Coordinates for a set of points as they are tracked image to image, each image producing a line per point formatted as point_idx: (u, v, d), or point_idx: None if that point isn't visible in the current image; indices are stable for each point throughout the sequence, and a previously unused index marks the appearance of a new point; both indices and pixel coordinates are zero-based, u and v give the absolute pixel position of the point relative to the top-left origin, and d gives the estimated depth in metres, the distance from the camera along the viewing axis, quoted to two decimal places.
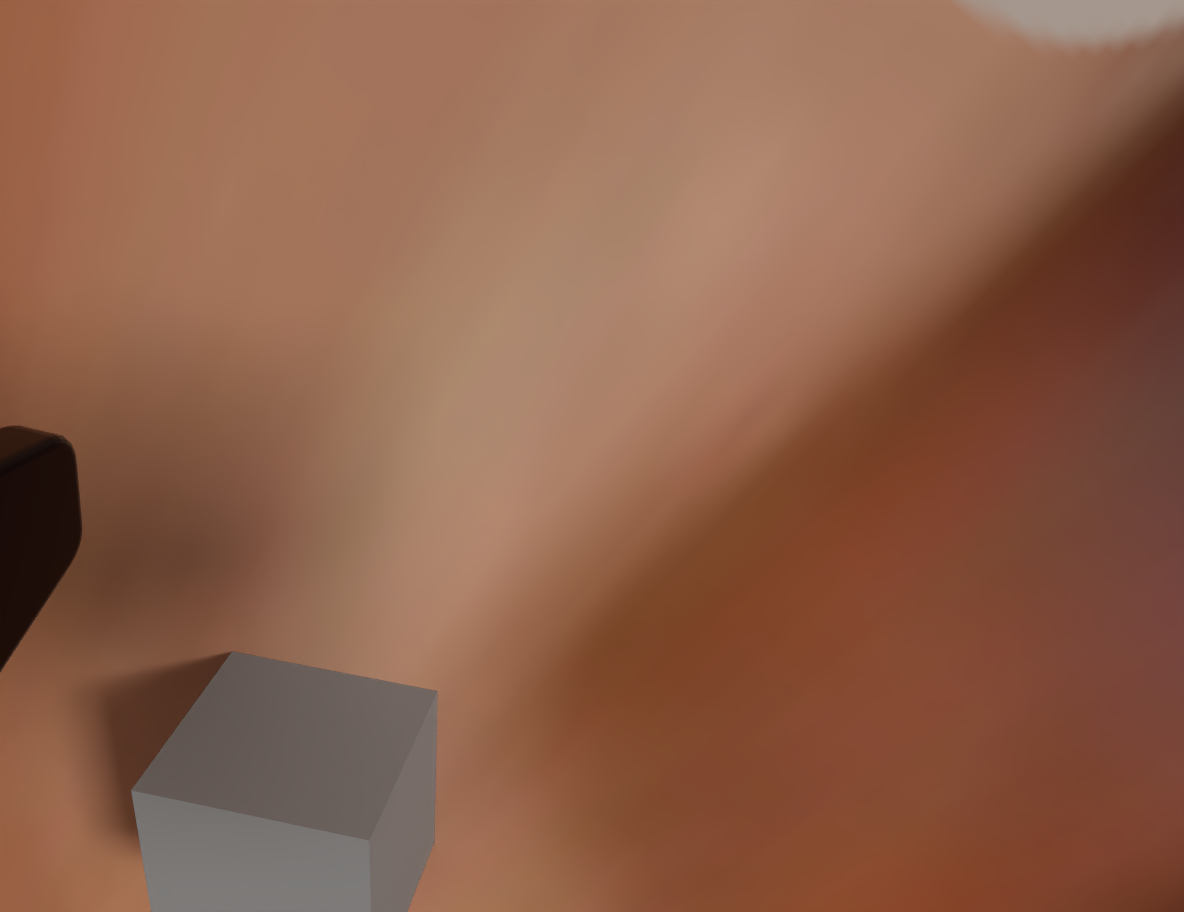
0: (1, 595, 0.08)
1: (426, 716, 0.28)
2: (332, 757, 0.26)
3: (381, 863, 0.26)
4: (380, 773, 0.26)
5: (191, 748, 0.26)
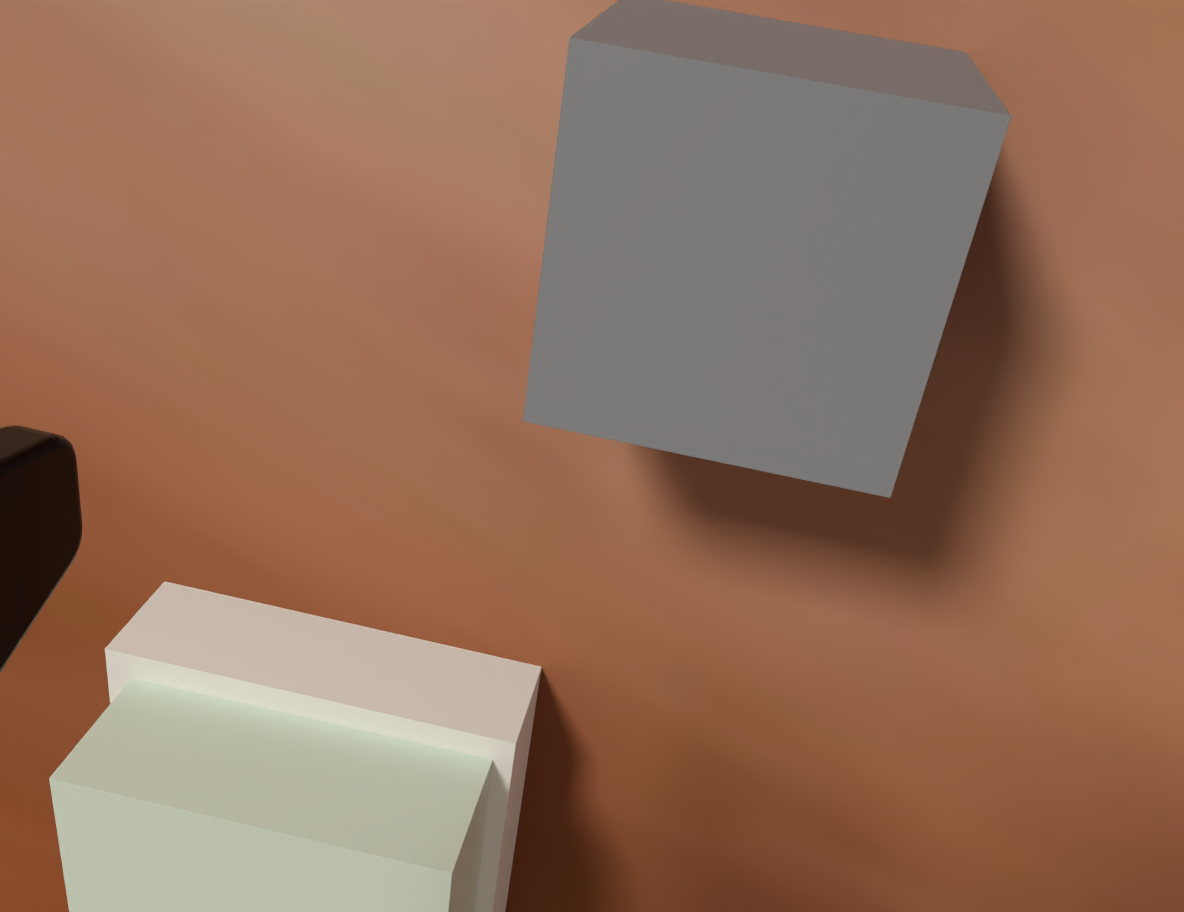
0: (1, 595, 0.08)
1: (621, 0, 0.18)
2: None
3: (699, 51, 0.15)
4: None
5: None
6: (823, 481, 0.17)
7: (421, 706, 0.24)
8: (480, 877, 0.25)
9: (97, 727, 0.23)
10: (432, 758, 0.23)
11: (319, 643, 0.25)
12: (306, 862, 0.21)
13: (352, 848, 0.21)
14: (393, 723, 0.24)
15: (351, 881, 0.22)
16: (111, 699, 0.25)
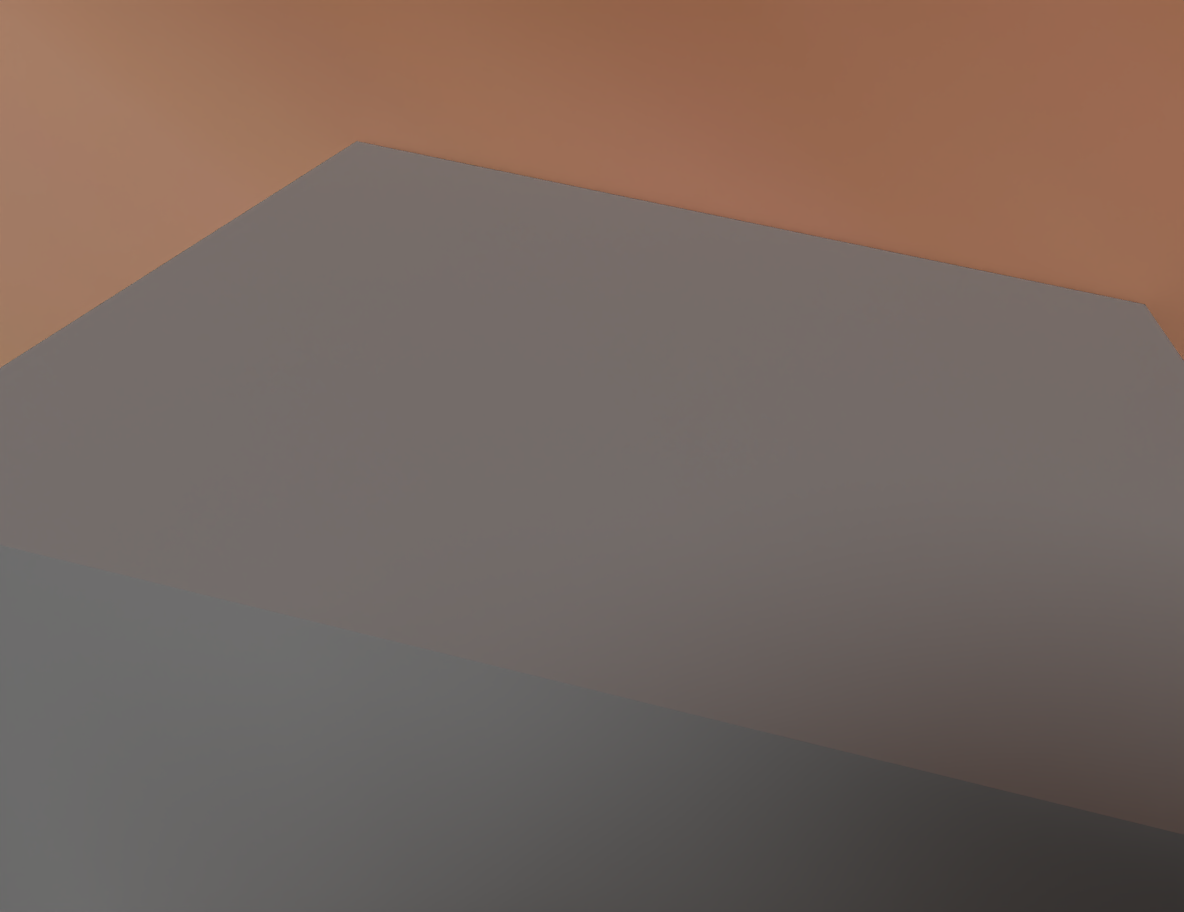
0: None
1: (305, 178, 0.07)
2: None
3: (351, 492, 0.04)
4: None
5: None
6: None
7: None
8: None
9: None
10: None
11: None
12: None
13: None
14: None
15: None
16: None
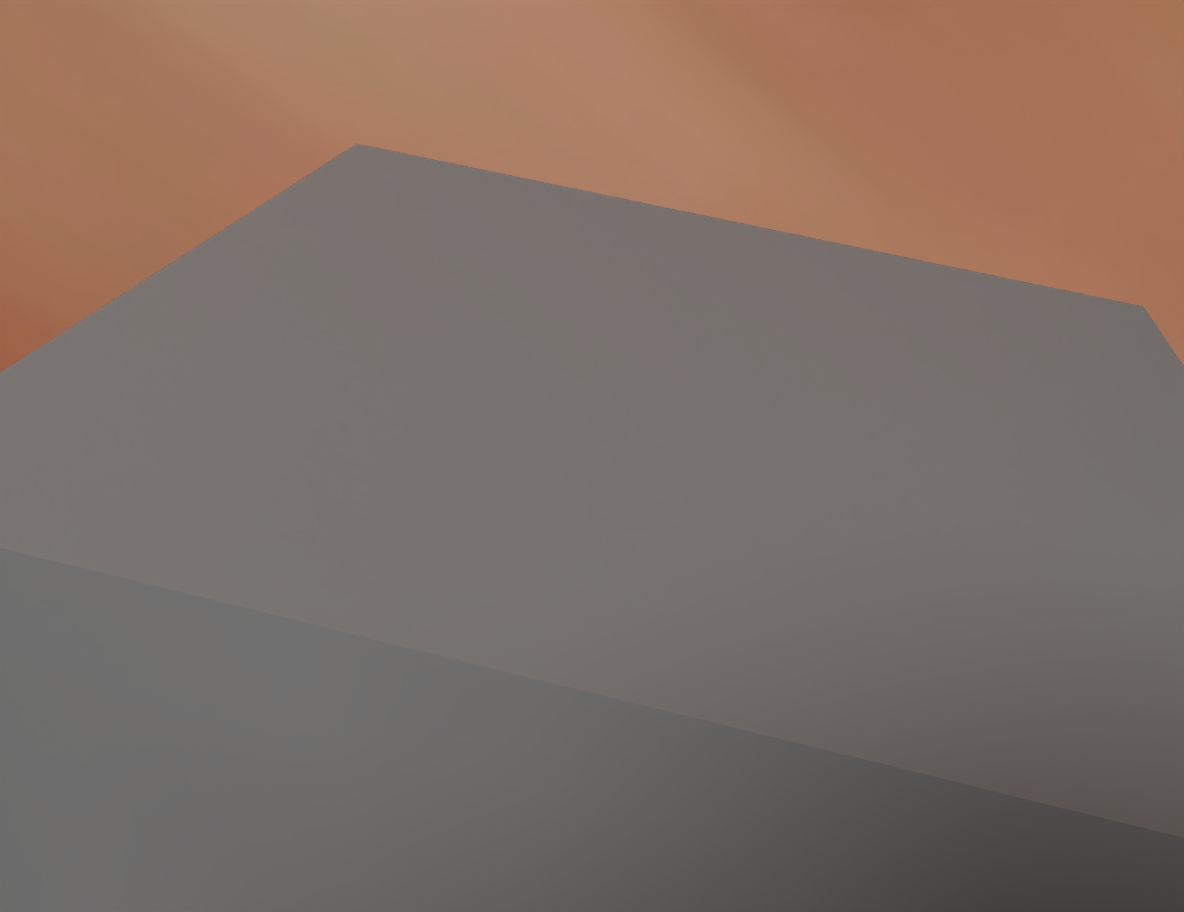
0: None
1: (305, 181, 0.07)
2: None
3: (352, 495, 0.04)
4: None
5: None
6: None
7: None
8: None
9: None
10: None
11: None
12: None
13: None
14: None
15: None
16: None
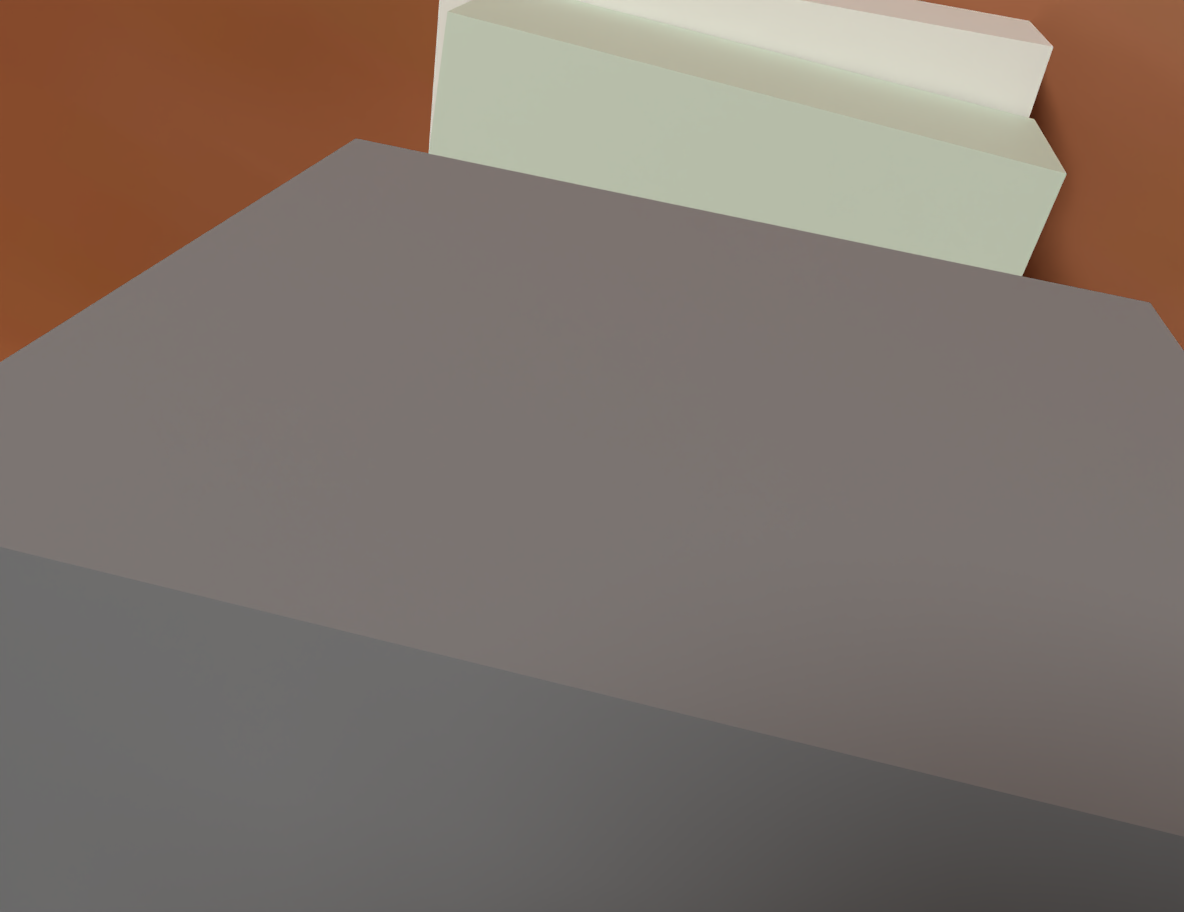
0: None
1: (304, 176, 0.07)
2: None
3: (350, 491, 0.04)
4: None
5: None
6: None
7: (900, 14, 0.17)
8: None
9: None
10: (955, 103, 0.16)
11: None
12: (826, 165, 0.14)
13: (910, 132, 0.14)
14: (866, 30, 0.16)
15: (888, 201, 0.14)
16: (439, 33, 0.18)
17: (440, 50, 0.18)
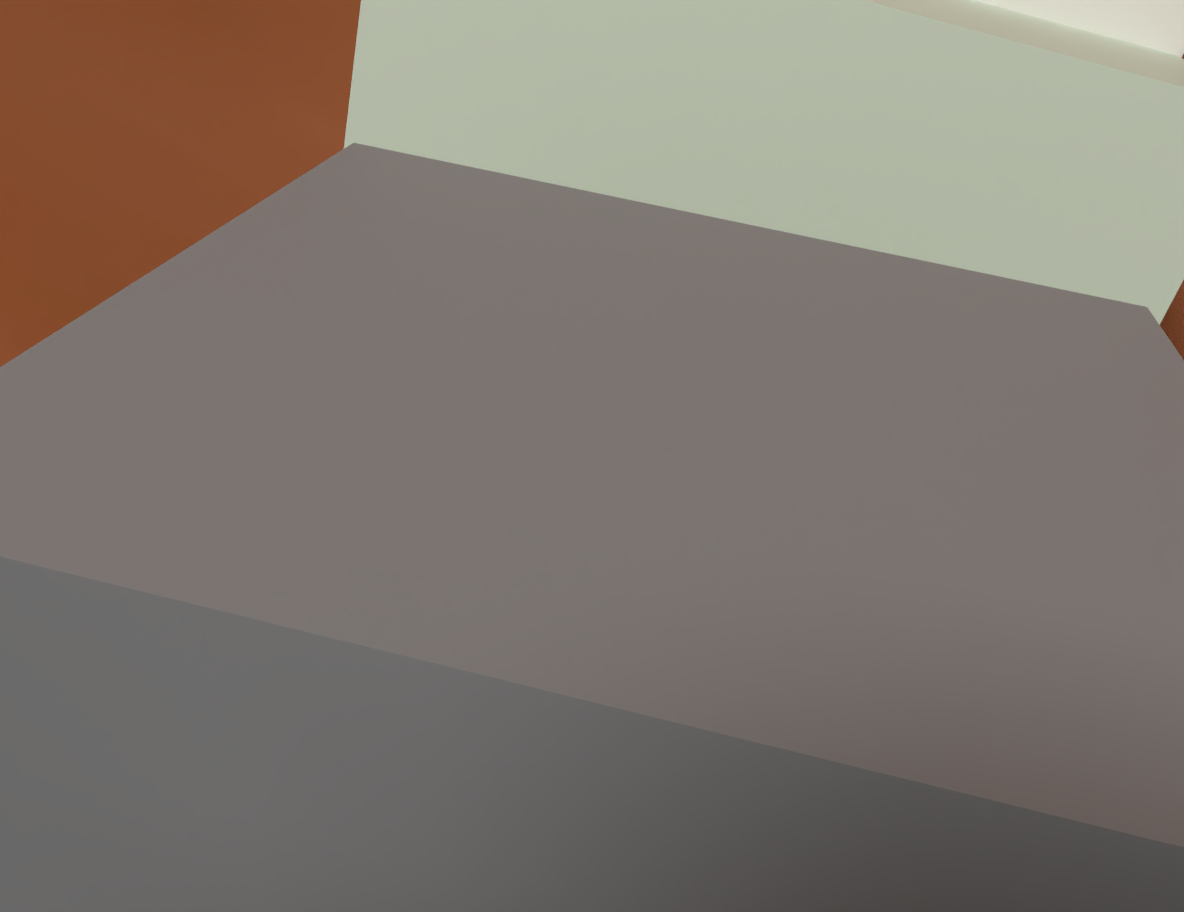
0: None
1: (301, 180, 0.07)
2: None
3: (346, 498, 0.04)
4: None
5: None
6: None
7: None
8: None
9: None
10: (1074, 30, 0.12)
11: None
12: (922, 97, 0.10)
13: (1048, 50, 0.10)
14: None
15: (1007, 150, 0.10)
16: None
17: None
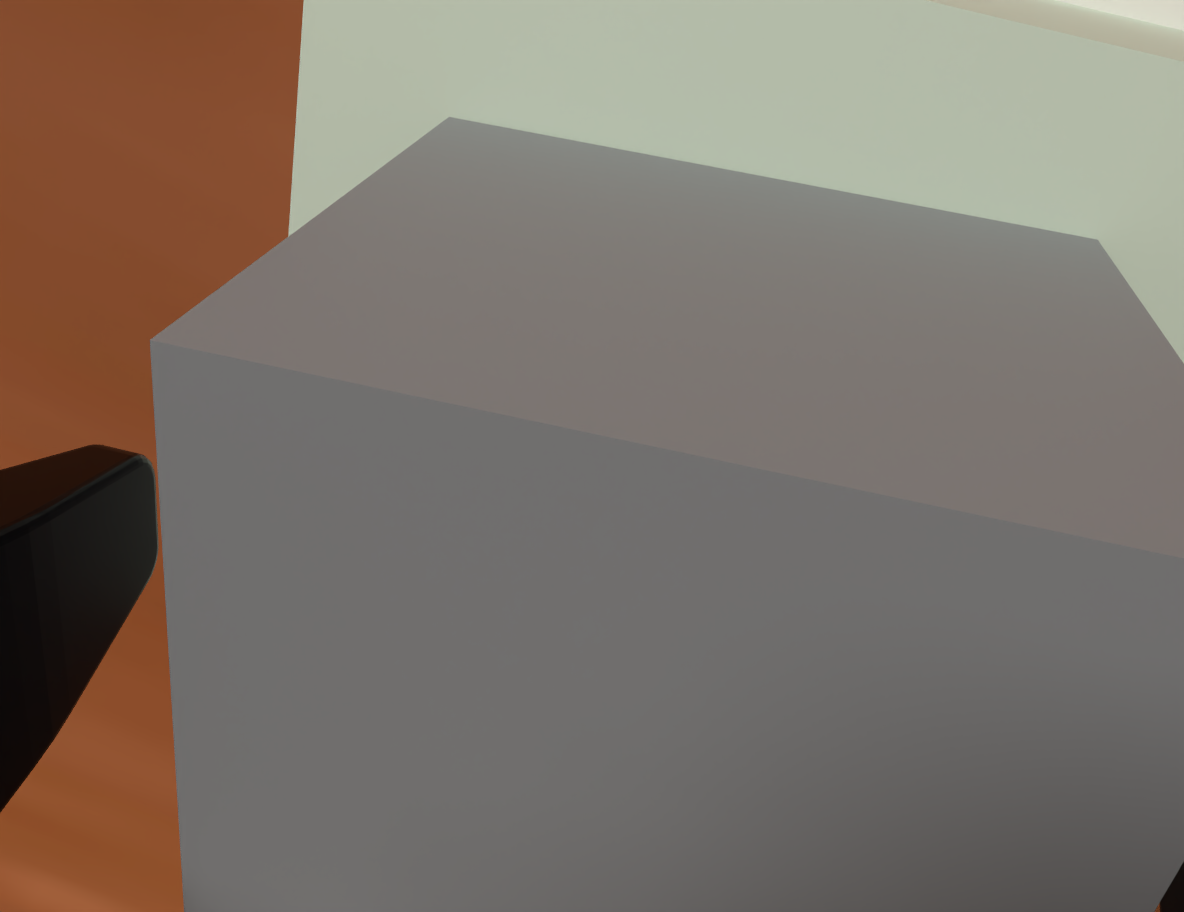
0: (86, 616, 0.08)
1: (417, 144, 0.09)
2: None
3: (510, 347, 0.06)
4: None
5: None
6: None
7: None
8: None
9: None
10: (1096, 12, 0.11)
11: None
12: (930, 93, 0.09)
13: (1072, 34, 0.09)
14: None
15: (1028, 149, 0.09)
16: None
17: None
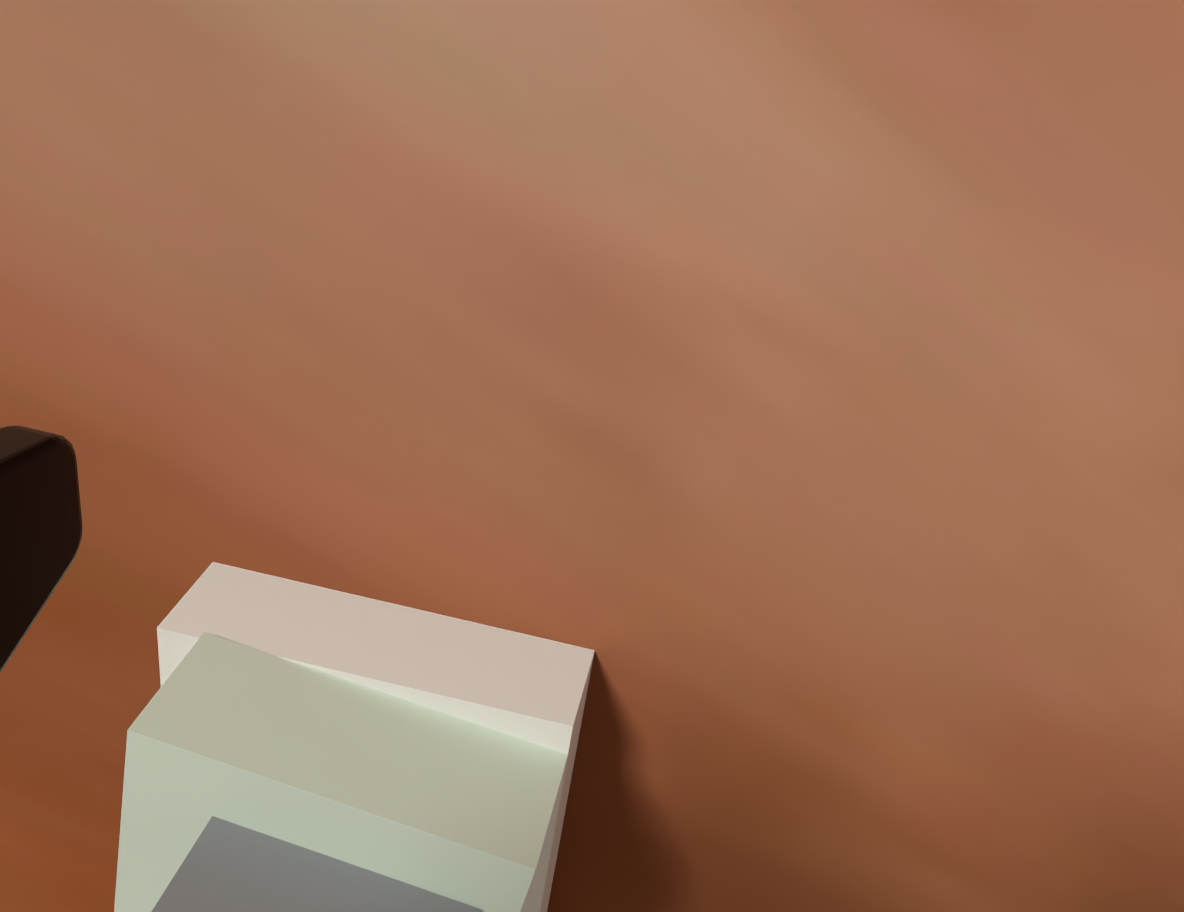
0: (1, 595, 0.08)
1: (189, 856, 0.21)
2: None
3: None
4: None
5: None
6: None
7: (476, 688, 0.23)
8: None
9: (173, 680, 0.22)
10: (509, 747, 0.23)
11: (371, 624, 0.25)
12: (385, 842, 0.21)
13: (436, 834, 0.21)
14: (449, 705, 0.23)
15: (427, 865, 0.21)
16: (162, 679, 0.24)
17: None
